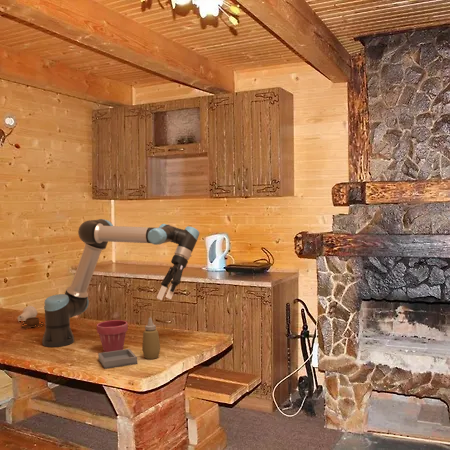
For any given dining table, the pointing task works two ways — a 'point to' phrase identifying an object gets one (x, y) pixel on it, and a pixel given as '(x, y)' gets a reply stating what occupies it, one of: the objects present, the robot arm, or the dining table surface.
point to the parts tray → (117, 358)
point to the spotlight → (27, 313)
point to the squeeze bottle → (150, 341)
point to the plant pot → (112, 334)
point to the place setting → (32, 322)
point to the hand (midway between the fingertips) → (163, 298)
